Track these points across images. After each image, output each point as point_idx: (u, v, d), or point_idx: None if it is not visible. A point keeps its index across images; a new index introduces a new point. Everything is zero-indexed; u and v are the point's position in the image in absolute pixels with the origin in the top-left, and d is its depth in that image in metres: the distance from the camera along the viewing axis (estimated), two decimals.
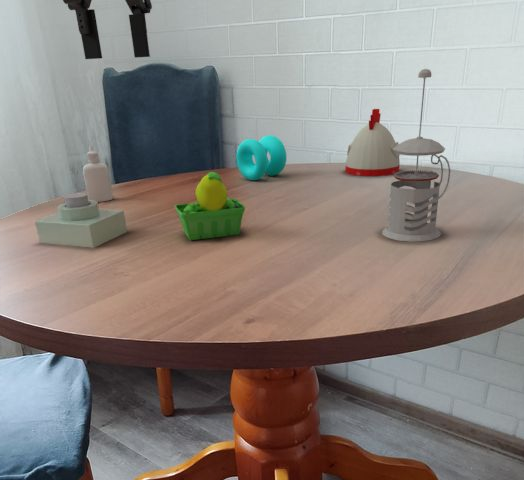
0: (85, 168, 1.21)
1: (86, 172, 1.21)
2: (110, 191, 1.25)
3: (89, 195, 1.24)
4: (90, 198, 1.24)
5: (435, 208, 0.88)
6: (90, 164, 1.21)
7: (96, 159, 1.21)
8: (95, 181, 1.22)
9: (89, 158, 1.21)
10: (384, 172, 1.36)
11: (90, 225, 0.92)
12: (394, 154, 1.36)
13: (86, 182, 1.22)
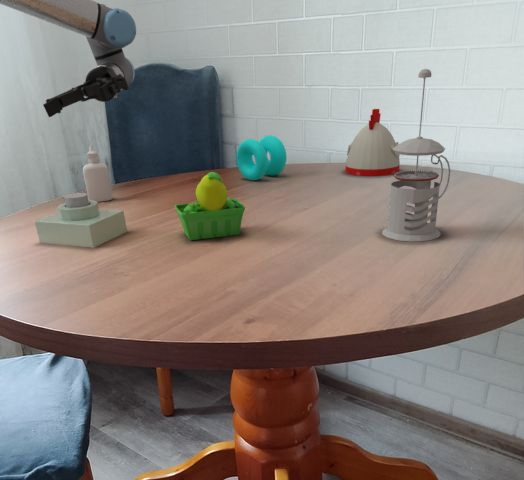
0: (85, 168, 1.21)
1: (86, 172, 1.21)
2: (110, 191, 1.25)
3: (89, 195, 1.24)
4: (90, 198, 1.24)
5: (435, 208, 0.88)
6: (90, 164, 1.21)
7: (96, 159, 1.21)
8: (95, 181, 1.22)
9: (89, 158, 1.21)
10: (384, 172, 1.36)
11: (90, 225, 0.92)
12: (394, 154, 1.36)
13: (86, 182, 1.22)
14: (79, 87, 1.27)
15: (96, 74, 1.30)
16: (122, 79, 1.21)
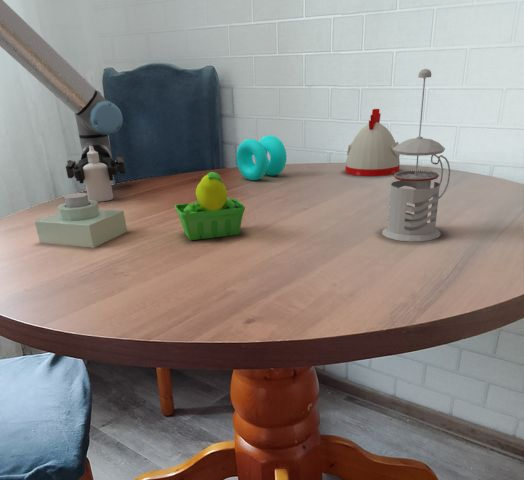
0: (85, 168, 1.21)
1: (86, 172, 1.21)
2: (110, 191, 1.25)
3: (89, 195, 1.24)
4: (90, 198, 1.24)
5: (435, 208, 0.88)
6: (90, 164, 1.21)
7: (96, 159, 1.21)
8: (95, 181, 1.22)
9: (89, 158, 1.21)
10: (384, 172, 1.36)
11: (90, 225, 0.92)
12: (394, 154, 1.36)
13: (86, 182, 1.22)
14: None
15: None
16: (120, 163, 1.25)
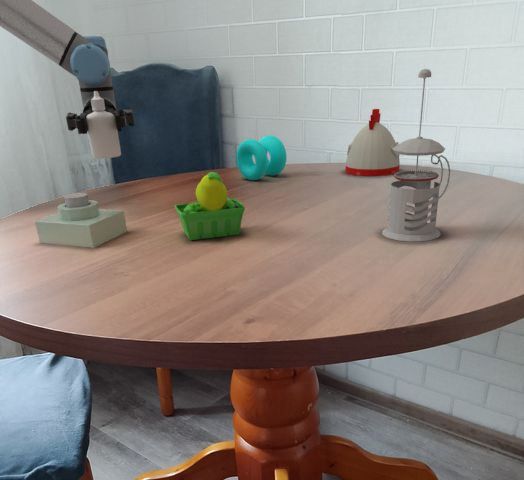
0: (89, 117, 1.03)
1: (90, 122, 1.04)
2: (118, 146, 1.07)
3: (93, 150, 1.06)
4: (94, 153, 1.06)
5: (435, 208, 0.88)
6: (95, 112, 1.04)
7: (102, 107, 1.04)
8: (101, 133, 1.05)
9: (93, 105, 1.03)
10: (384, 172, 1.36)
11: (90, 225, 0.92)
12: (394, 154, 1.36)
13: (90, 134, 1.05)
14: (91, 112, 1.12)
15: None
16: (129, 114, 1.08)
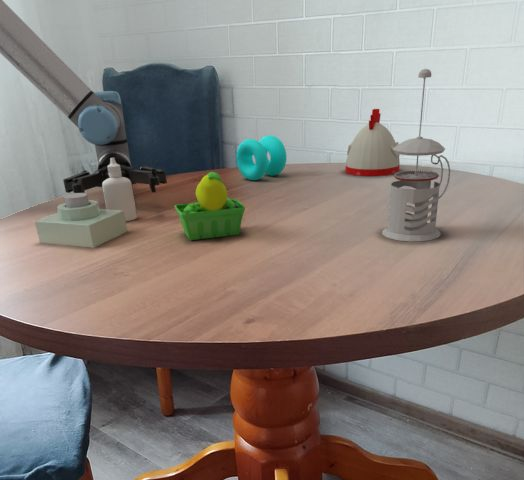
0: (105, 183, 1.04)
1: (106, 188, 1.04)
2: (133, 210, 1.08)
3: None
4: None
5: (435, 208, 0.88)
6: (111, 179, 1.04)
7: (118, 173, 1.04)
8: (117, 198, 1.05)
9: (110, 172, 1.04)
10: (384, 172, 1.36)
11: (90, 225, 0.92)
12: (394, 154, 1.36)
13: (106, 200, 1.05)
14: (100, 171, 1.12)
15: None
16: (163, 172, 1.11)
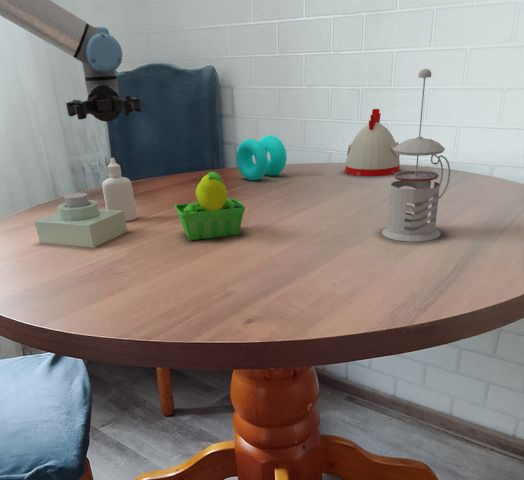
0: (105, 183, 1.04)
1: (106, 188, 1.04)
2: (133, 210, 1.08)
3: None
4: None
5: (435, 208, 0.88)
6: (111, 179, 1.04)
7: (118, 173, 1.04)
8: (117, 198, 1.05)
9: (110, 172, 1.04)
10: (384, 172, 1.36)
11: (90, 225, 0.92)
12: (394, 154, 1.36)
13: (106, 200, 1.05)
14: (94, 99, 1.17)
15: (103, 91, 1.22)
16: (137, 100, 1.14)
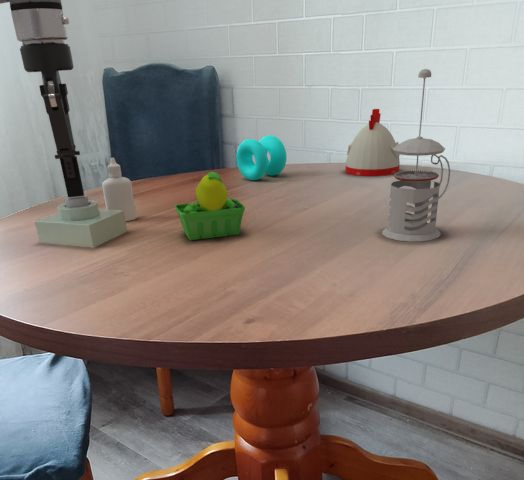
0: (105, 183, 1.04)
1: (106, 188, 1.04)
2: (133, 210, 1.08)
3: None
4: None
5: (435, 208, 0.88)
6: (111, 179, 1.04)
7: (118, 173, 1.04)
8: (117, 198, 1.05)
9: (110, 172, 1.04)
10: (384, 172, 1.36)
11: (90, 225, 0.92)
12: (394, 154, 1.36)
13: (106, 200, 1.05)
14: None
15: None
16: None
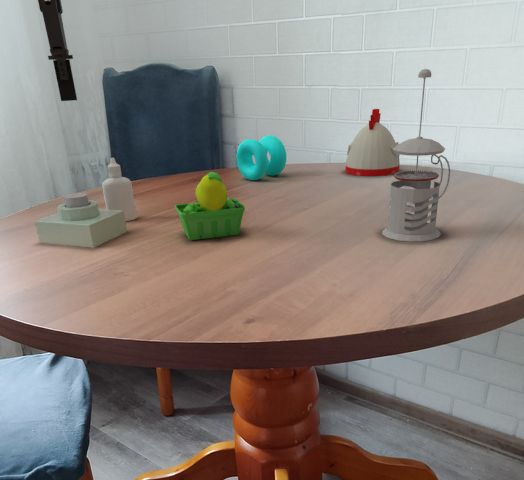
0: (105, 183, 1.04)
1: (106, 188, 1.04)
2: (133, 210, 1.08)
3: None
4: None
5: (435, 208, 0.88)
6: (111, 179, 1.04)
7: (118, 173, 1.04)
8: (117, 198, 1.05)
9: (110, 172, 1.04)
10: (384, 172, 1.36)
11: (90, 225, 0.92)
12: (394, 154, 1.36)
13: (106, 200, 1.05)
14: None
15: None
16: None
